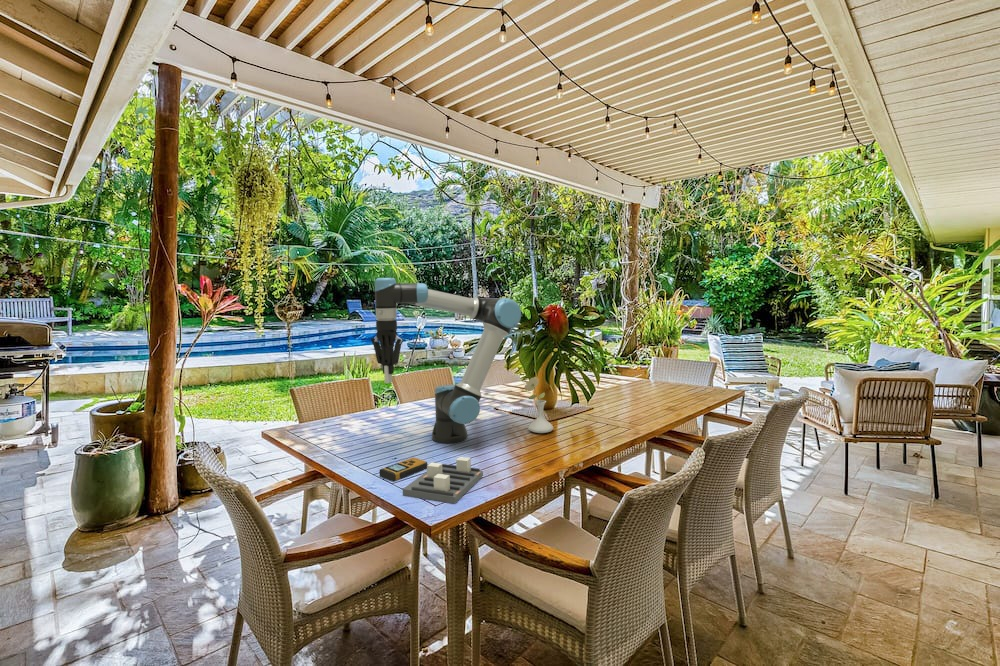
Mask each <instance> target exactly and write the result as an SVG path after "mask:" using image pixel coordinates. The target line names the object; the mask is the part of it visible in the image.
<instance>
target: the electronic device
mask: <svg viewBox="0 0 1000 666" xmlns="http://www.w3.org/2000/svg"><path fill="white" fill-rule="evenodd" d="M427 465H428V461H425V460H423V459H419V458H416V457H411V458H408V459H406V460H401V461H400V462H397V463H395V464H391V465H388V466H385V467H382V468H380V469H379V477H380V478H383V479H386V480H388V481H390V482H396V481H398V480H401V479H404V478H407V477H409V476H412V475H414V473H415V474H417V473H420V472H422V471H424V469H425V470H427Z"/></svg>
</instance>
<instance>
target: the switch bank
mask: <svg viewBox="0 0 1000 666" xmlns="http://www.w3.org/2000/svg"><path fill="white" fill-rule="evenodd" d="M441 464H442V474H444V475H450V490H449V491H447V492H446V491H440V490H434V478H429V477H427V471H426V472H424V473H423V474H421V475H420V476H419V477H417V478H416V479H414V480H413V481H411V482H410V483H409V484H408V485H406V486H405V487H404V488H402V496H404V497H405V496H406V497H411V498H418V499H423V500H429V501H434V502H435V501H437V502H442V503H447V504H448V503H449V504H454V505H455V504H457V502H458V501H459V500H461V498H463V496H465V494H467V493H468V492H469V491H468V490H469V489H470V488H471V487H472V486H473V485H474V484H475V483H476V482H477V481H478V480H479V479H480V478H481V477H482V476H483V477H484V470H481V469H480V468H476V467H471V471H470V472H469V473H468V472H461V471H456V465H454V464H447V463H441ZM483 477H482V478H483ZM482 478H481V479H482ZM481 479H480V480H481ZM480 480H479V481H480ZM479 481H478V482H479ZM478 482H477V483H478ZM477 483H476V484H477ZM476 484H475V485H476ZM475 485H474V486H475ZM474 486H473V487H474ZM473 487H472V488H473ZM472 488H471V489H472ZM471 489H470V490H471ZM467 491H468V492H467Z"/></svg>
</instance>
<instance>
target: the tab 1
mask: <svg viewBox="0 0 1000 666" xmlns="http://www.w3.org/2000/svg"><path fill="white" fill-rule="evenodd" d="M442 464H443V463H437V462H430V463H428V464H427V469H426V472H427V477H429V478H434V476H436V475H437V474H442Z"/></svg>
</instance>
